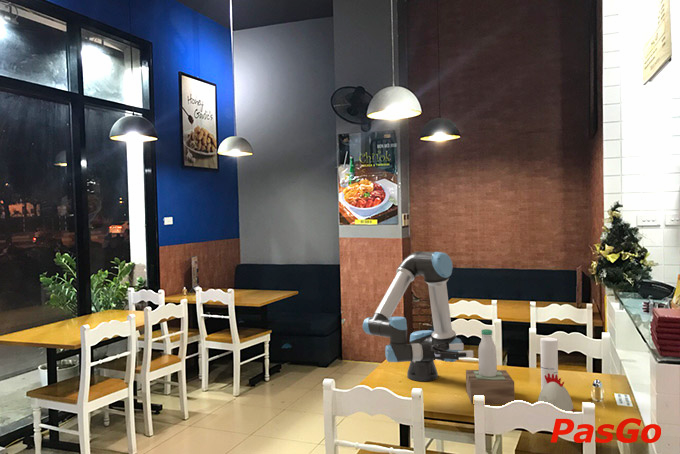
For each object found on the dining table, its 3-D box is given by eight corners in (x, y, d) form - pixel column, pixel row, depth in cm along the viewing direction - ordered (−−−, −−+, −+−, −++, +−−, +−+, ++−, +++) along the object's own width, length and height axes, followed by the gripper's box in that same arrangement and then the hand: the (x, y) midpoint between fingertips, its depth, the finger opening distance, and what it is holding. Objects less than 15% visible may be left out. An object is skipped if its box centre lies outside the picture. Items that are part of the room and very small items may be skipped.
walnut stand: (466, 390, 252) (465, 369, 252) (506, 390, 250) (505, 369, 250) (471, 404, 234) (471, 381, 234) (514, 404, 233) (514, 381, 232)
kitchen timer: (547, 402, 235) (547, 367, 235) (579, 410, 225) (578, 374, 224) (531, 410, 226) (530, 374, 225) (563, 419, 215) (562, 381, 215)
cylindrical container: (539, 392, 247) (538, 337, 247) (554, 392, 247) (554, 337, 247) (544, 397, 240) (543, 341, 240) (560, 397, 240) (559, 340, 239)
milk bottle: (497, 377, 238) (496, 332, 237) (479, 377, 239) (478, 331, 239) (496, 372, 245) (495, 328, 245) (478, 372, 247) (477, 328, 246)
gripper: (414, 353, 252) (459, 351, 254) (427, 368, 227) (477, 366, 229) (414, 337, 252) (459, 335, 254) (427, 350, 227) (477, 348, 229)
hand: (468, 350), depth 241 cm, fingers open, 13 cm apart
